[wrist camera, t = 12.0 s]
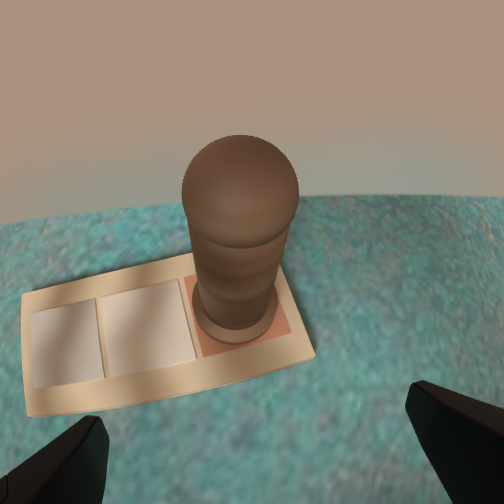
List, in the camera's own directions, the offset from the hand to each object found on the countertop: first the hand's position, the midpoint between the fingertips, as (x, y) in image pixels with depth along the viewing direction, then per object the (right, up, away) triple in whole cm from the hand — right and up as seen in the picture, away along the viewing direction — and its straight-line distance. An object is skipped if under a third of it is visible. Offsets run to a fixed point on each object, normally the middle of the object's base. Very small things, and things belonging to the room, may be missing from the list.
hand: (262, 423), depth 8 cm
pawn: (-1, +1, +14) cm, 14 cm away
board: (-8, -1, +14) cm, 16 cm away
